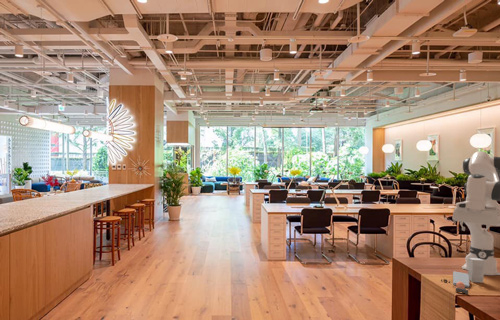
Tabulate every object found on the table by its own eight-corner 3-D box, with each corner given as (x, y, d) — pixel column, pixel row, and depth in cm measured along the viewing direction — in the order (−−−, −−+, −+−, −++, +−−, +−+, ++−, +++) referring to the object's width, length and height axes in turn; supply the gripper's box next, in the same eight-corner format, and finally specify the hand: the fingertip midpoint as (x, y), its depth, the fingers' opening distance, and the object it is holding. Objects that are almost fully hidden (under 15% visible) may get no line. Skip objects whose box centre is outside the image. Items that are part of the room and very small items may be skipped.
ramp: (452, 278, 189) (453, 270, 189) (467, 281, 186) (468, 273, 186) (453, 285, 179) (453, 276, 179) (469, 288, 175) (469, 279, 175)
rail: (455, 291, 169) (455, 287, 169) (467, 294, 167) (468, 289, 167) (455, 292, 168) (455, 288, 168) (467, 294, 166) (468, 290, 166)
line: (453, 286, 176) (453, 286, 176) (469, 289, 173) (469, 289, 173) (453, 286, 176) (453, 286, 176) (469, 290, 172) (469, 289, 172)
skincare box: (478, 280, 189) (479, 258, 190) (483, 283, 185) (484, 260, 185) (467, 279, 190) (468, 257, 190) (471, 282, 185) (473, 259, 185)
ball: (456, 279, 176) (456, 286, 176) (456, 282, 172) (456, 289, 173) (464, 281, 174) (464, 288, 174) (465, 283, 171) (464, 291, 171)
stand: (441, 279, 187) (441, 278, 187) (449, 281, 185) (449, 280, 185) (440, 281, 183) (441, 280, 183) (449, 283, 181) (449, 282, 181)
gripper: (499, 207, 180) (497, 233, 180) (453, 202, 190) (451, 228, 190) (500, 208, 174) (498, 235, 174) (453, 203, 185) (451, 229, 185)
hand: (473, 231), depth 182 cm, fingers open, 8 cm apart
